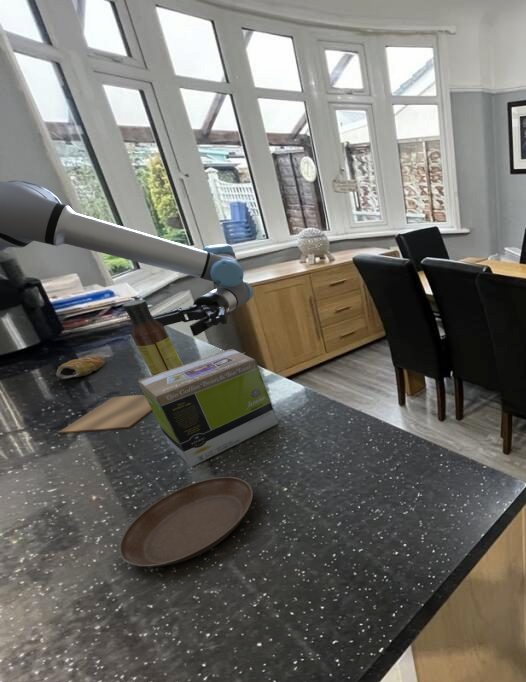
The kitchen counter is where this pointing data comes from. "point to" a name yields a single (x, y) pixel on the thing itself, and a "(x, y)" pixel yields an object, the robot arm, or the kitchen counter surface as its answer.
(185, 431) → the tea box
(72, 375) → the pastry
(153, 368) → the sauce bottle
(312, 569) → the kitchen counter surface
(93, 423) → the cork mat
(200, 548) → the saucer
